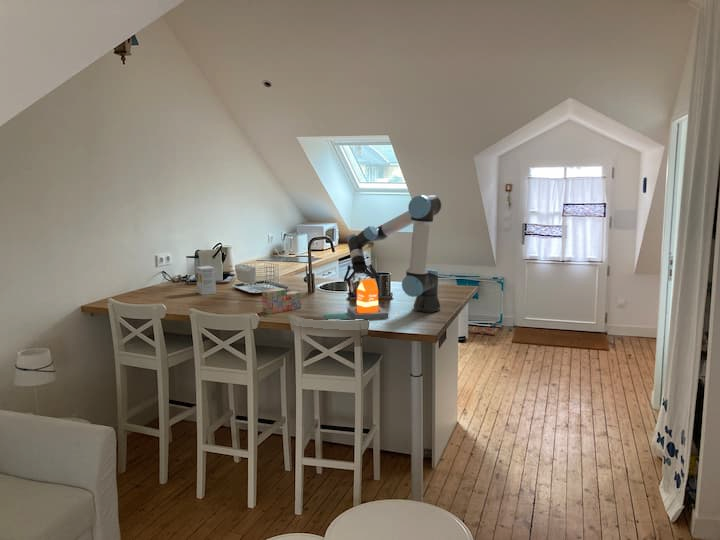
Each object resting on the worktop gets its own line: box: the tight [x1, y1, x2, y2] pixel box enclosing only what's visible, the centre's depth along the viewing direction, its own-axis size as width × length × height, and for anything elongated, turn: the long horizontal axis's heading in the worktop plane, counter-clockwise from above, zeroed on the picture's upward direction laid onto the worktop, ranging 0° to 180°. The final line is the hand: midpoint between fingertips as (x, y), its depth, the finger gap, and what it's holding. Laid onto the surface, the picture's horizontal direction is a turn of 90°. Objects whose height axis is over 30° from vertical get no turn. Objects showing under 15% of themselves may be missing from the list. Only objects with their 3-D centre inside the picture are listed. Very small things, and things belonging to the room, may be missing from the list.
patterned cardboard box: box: [261, 287, 302, 315], centre depth 333 cm, size 21×6×12 cm, turn 129°
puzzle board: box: [346, 305, 389, 321], centre depth 321 cm, size 18×18×3 cm
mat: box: [323, 312, 351, 320], centre depth 317 cm, size 12×12×1 cm
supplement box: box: [195, 265, 217, 296], centre depth 380 cm, size 10×9×17 cm
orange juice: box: [356, 278, 379, 313], centre depth 320 cm, size 8×9×20 cm
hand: (364, 290), depth 322 cm, fingers open, 13 cm apart
